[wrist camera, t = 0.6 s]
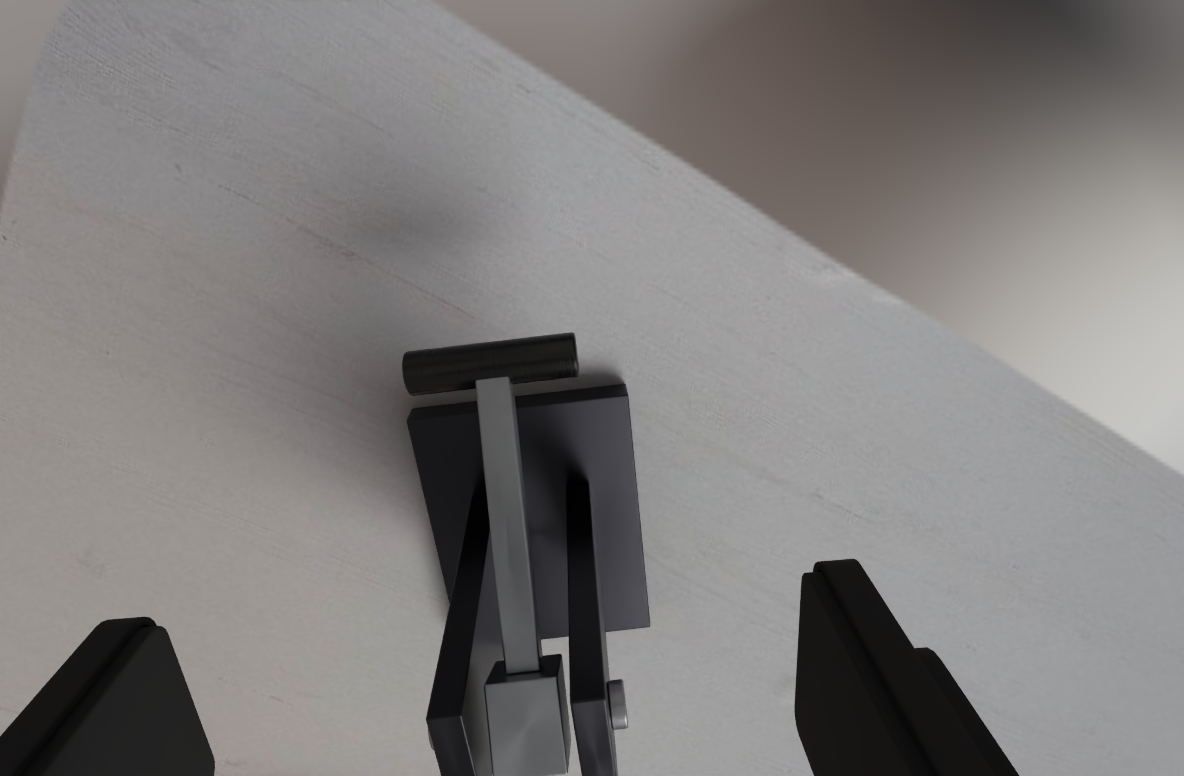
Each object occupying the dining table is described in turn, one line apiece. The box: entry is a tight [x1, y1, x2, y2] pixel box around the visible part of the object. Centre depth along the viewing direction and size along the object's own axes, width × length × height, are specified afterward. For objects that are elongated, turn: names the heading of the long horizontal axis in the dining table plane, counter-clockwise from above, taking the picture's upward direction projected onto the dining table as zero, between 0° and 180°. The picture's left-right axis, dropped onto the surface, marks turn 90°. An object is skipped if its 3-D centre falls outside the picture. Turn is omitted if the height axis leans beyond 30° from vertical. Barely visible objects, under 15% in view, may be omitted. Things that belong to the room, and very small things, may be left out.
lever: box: [402, 332, 579, 776], centre depth 23 cm, size 13×6×2 cm, turn 6°
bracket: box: [407, 384, 650, 776], centre depth 26 cm, size 12×9×13 cm
